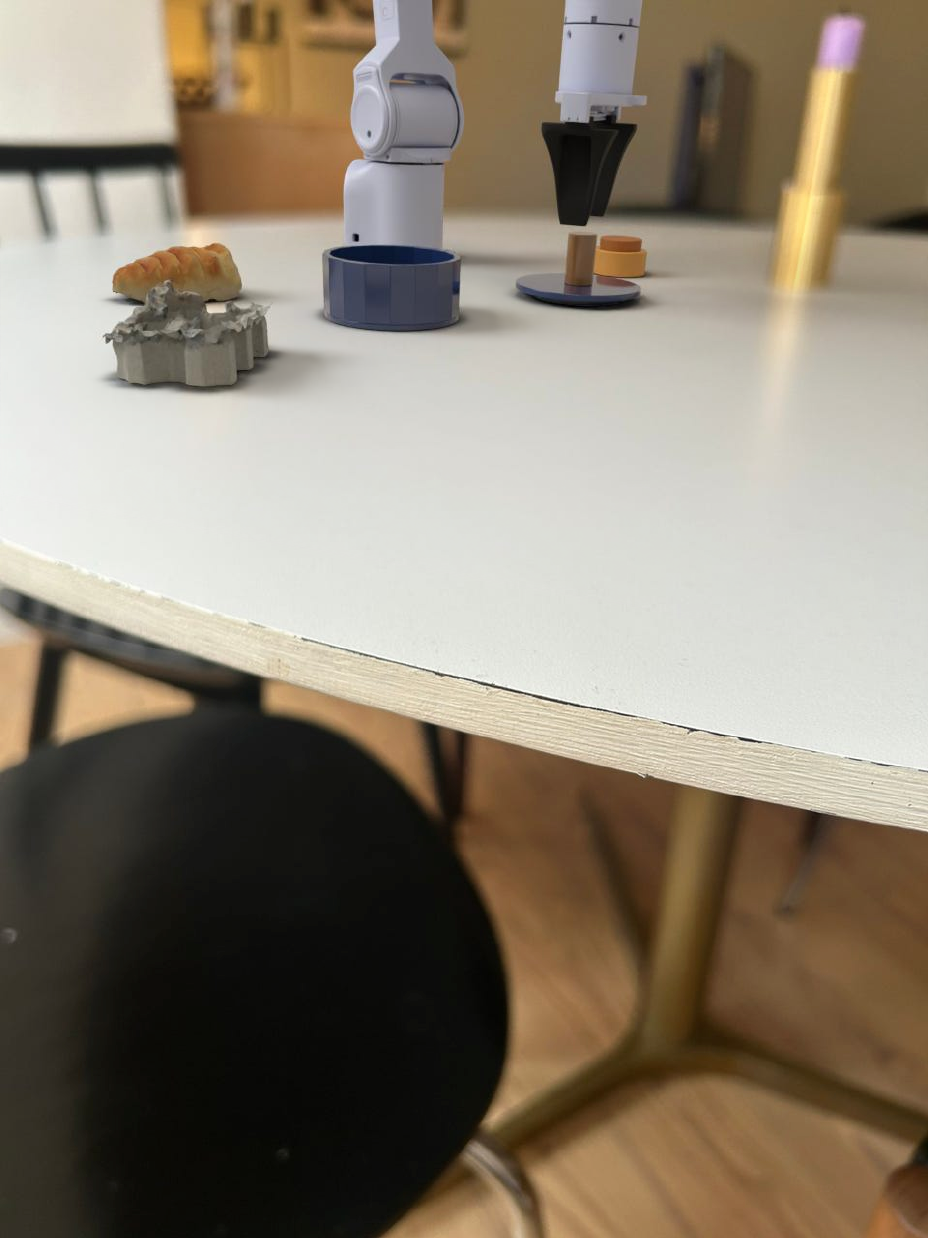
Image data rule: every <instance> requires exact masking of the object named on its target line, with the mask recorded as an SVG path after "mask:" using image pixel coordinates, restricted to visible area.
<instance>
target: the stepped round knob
mask: <svg viewBox="0 0 928 1238" xmlns="http://www.w3.org/2000/svg"><path fill="white" fill-rule="evenodd" d="M599 239H600V240H599V245H596V254H595V264H594V275H598V276H605V277H612V278H639V277H642V276H644V275H645V272H646V263H647V255H648V251H647V250H646V249H644V248H642V245H643V239H642V238H641V237H636V236H630V235H629V236H628V235H614V234H613V235H612V234H611V235H610V234H609V235H602V236H600V238H599Z"/></svg>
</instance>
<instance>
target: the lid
mask: <svg viewBox="0 0 928 1238" xmlns="http://www.w3.org/2000/svg"><path fill="white" fill-rule="evenodd" d="M597 242H598V233H595V232H590V231H569V232H568V234H567V245H566V246H567V247H566V256H565V257H566V258H565V269H564V272H563V273H561V272H560V273H559V272H558V273H557V272H556V273H555V272H554V273H553V272H551V273H534V274H528V275H523V276H520V277H518V278H517V279H516V280H515V289H516V290H518V291H520V292H522V293H523V294H524V293H525V294H526V295H527V294H528V295H531V296H532V297H533V298H534V299H536V300H539V301H542V302H546V303H551V304H557V305H564V306H574V307H575V306H576V307H577V306H578V307H605V306H614V305H616V304H621V303H622V302H623V301H629V300H634V299H636V298H639V297H640V296H641V294H642V287H641V286H640V284H637V283H635V282H633V281H629V280H625V279H621V278H618V277H611V276H604V275H598V274H595V273H594V264H595V254H596V246H597Z"/></svg>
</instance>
